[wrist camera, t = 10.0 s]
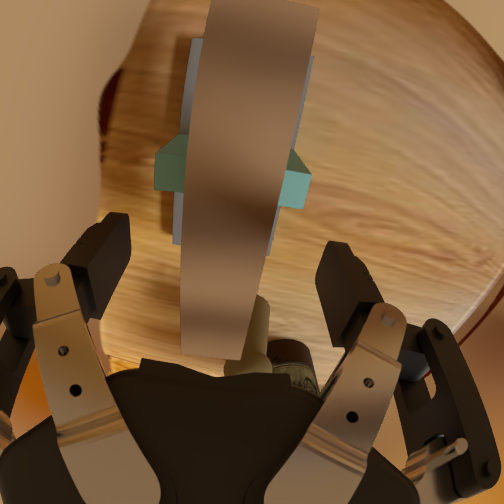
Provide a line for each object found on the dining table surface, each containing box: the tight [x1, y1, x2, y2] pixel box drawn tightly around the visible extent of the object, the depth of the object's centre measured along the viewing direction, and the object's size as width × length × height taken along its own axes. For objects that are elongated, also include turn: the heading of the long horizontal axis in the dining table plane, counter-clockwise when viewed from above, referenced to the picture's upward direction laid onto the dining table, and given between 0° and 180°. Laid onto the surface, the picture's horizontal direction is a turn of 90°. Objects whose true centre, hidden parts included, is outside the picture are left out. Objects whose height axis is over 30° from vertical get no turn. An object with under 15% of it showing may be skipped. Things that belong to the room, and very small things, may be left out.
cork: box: [224, 295, 272, 376], centre depth 31 cm, size 6×6×11 cm
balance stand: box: [154, 38, 314, 256], centre depth 21 cm, size 20×10×8 cm, turn 170°
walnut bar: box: [180, 0, 320, 360], centre depth 15 cm, size 20×4×6 cm, turn 170°
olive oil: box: [266, 340, 320, 396], centre depth 32 cm, size 11×11×25 cm
